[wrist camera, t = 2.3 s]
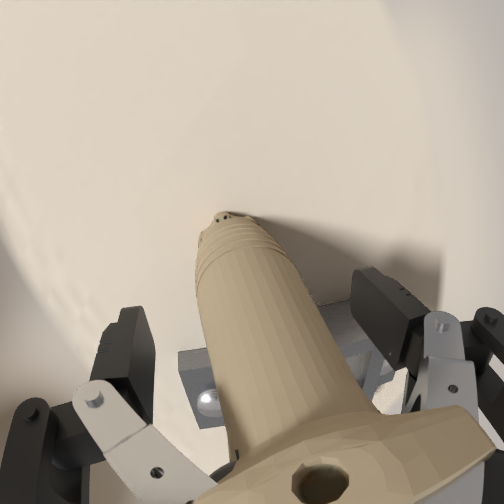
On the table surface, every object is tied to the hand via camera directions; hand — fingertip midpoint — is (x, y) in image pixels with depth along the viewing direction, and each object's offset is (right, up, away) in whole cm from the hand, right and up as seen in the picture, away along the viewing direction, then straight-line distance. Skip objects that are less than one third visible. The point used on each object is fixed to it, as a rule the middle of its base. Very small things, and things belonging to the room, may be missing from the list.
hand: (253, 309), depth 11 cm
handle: (-1, +3, +6) cm, 7 cm away
